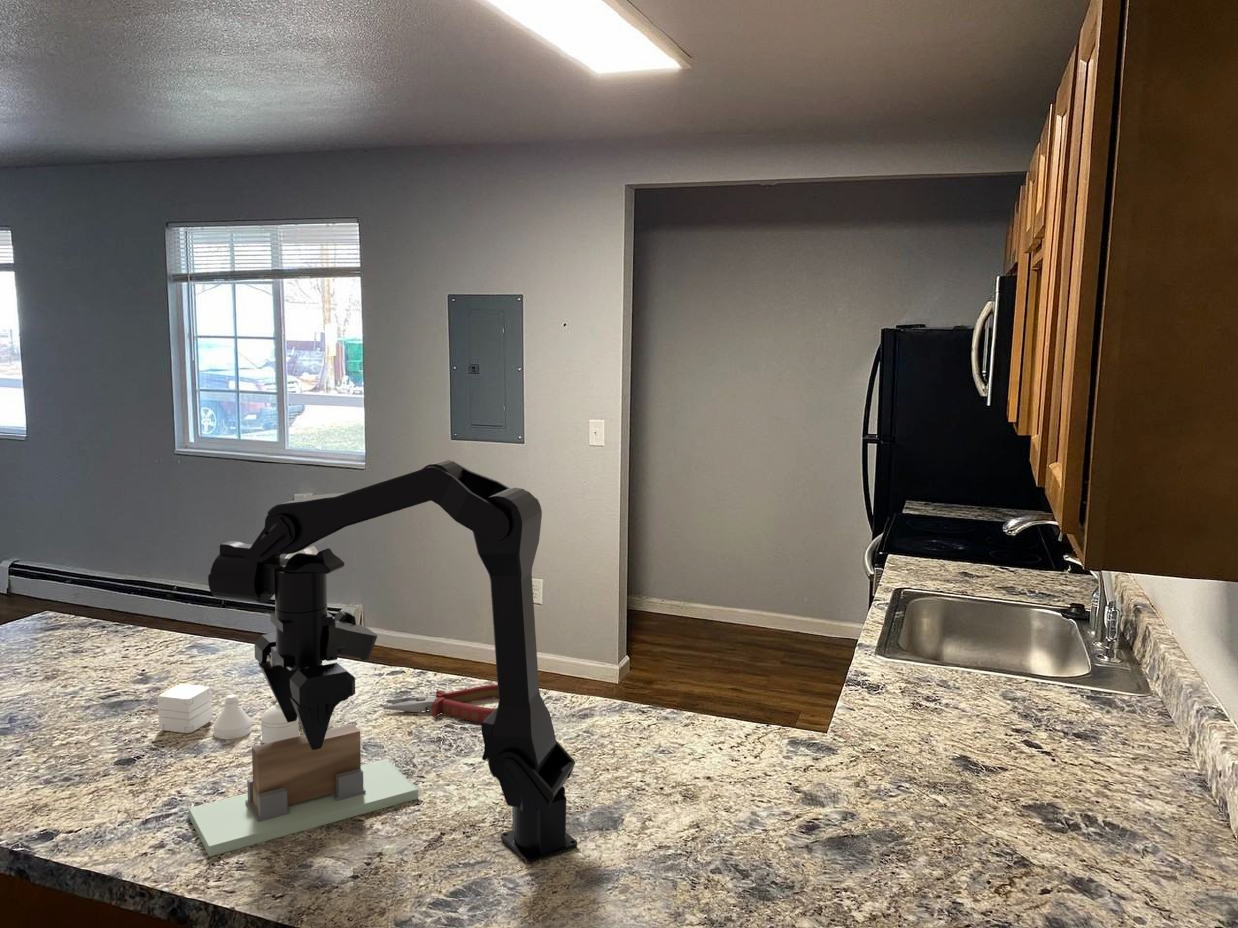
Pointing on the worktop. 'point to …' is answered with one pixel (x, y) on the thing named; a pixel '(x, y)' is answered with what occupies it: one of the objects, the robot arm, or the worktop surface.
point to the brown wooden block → (305, 764)
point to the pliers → (450, 703)
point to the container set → (193, 710)
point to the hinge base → (297, 808)
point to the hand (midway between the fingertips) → (303, 734)
